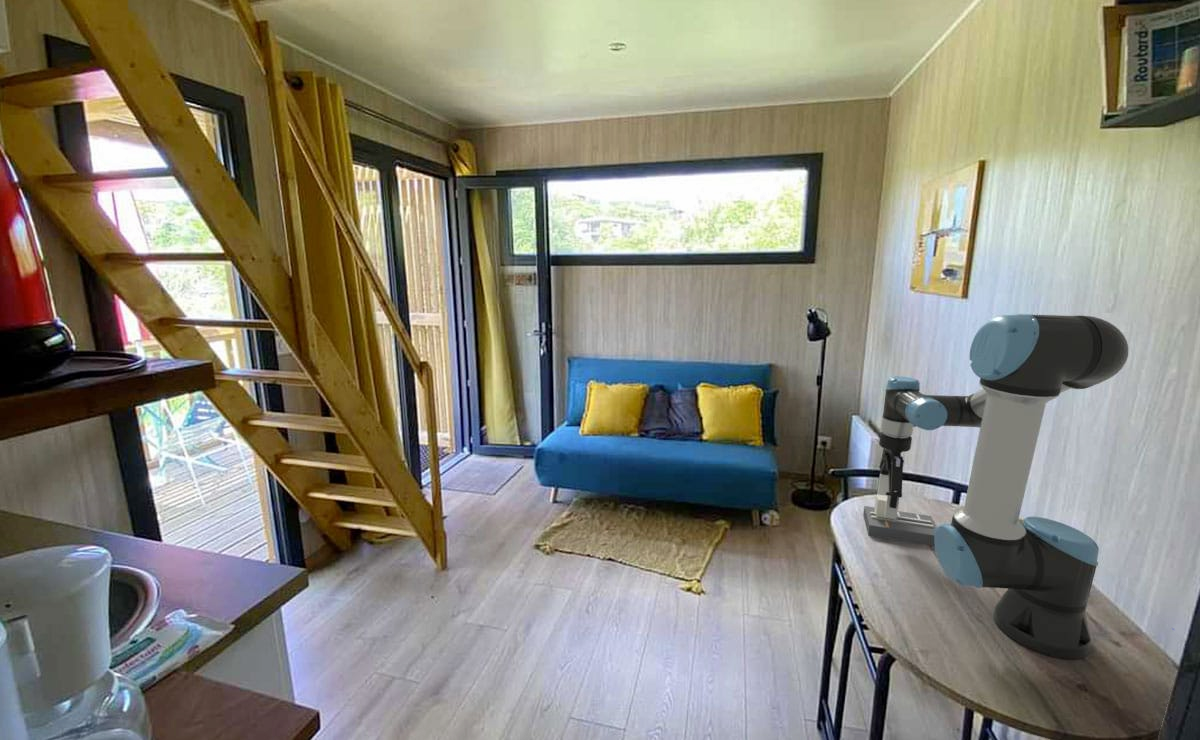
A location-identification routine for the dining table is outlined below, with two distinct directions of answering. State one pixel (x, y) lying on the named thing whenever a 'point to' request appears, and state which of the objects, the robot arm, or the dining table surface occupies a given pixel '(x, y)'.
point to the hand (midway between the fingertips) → (886, 506)
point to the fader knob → (881, 506)
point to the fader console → (901, 527)
